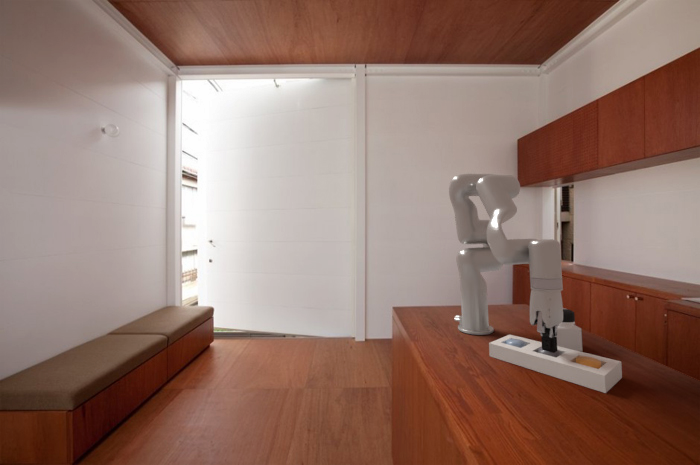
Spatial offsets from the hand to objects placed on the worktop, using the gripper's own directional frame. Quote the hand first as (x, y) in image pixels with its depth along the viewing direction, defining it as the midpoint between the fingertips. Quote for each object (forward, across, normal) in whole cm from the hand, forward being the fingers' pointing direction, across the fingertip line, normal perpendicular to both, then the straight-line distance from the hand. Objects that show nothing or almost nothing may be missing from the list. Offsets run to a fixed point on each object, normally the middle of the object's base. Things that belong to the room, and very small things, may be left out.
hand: (549, 350), depth 84 cm
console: (+4, 0, 0) cm, 4 cm away
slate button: (+3, 0, -9) cm, 10 cm away
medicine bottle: (+4, -18, -3) cm, 19 cm away
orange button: (+4, 0, +9) cm, 9 cm away
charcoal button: (+3, 0, 0) cm, 4 cm away
